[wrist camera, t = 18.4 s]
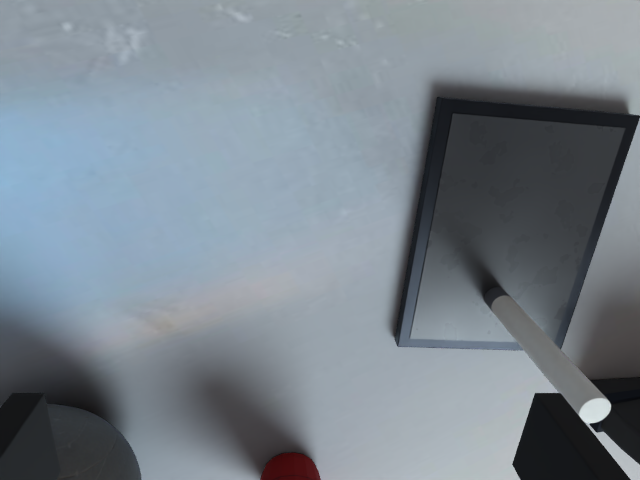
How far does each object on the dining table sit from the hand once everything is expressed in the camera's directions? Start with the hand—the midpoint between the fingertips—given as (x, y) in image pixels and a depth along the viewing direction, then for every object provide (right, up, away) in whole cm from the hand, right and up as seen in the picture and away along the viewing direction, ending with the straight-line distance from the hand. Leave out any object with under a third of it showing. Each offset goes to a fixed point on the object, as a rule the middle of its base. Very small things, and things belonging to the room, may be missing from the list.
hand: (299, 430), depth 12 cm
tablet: (+16, +6, +27) cm, 32 cm away
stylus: (+16, 0, +28) cm, 32 cm away
